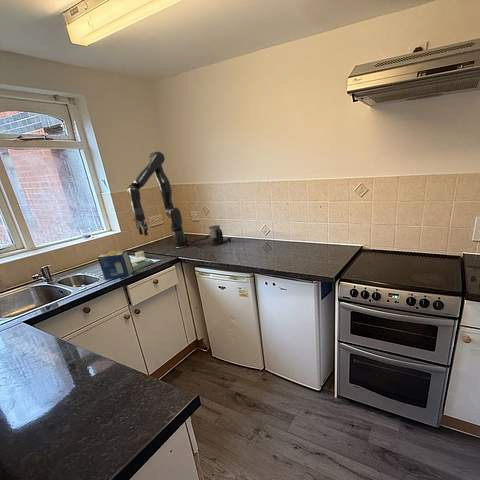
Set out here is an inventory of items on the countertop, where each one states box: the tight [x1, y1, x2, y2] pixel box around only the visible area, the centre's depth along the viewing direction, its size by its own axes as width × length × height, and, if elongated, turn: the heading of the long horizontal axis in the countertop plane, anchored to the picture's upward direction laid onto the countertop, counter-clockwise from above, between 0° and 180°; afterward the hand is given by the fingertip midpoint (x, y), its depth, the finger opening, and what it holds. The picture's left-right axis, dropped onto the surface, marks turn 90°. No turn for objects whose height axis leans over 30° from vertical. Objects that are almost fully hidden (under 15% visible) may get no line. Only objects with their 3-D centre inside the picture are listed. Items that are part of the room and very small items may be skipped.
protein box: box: [96, 249, 135, 280], centre depth 196 cm, size 10×15×16 cm
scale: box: [130, 257, 153, 270], centre depth 218 cm, size 14×17×3 cm
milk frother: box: [208, 224, 233, 246], centre depth 248 cm, size 14×16×15 cm
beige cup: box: [134, 250, 146, 258], centre depth 232 cm, size 6×6×5 cm
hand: (143, 234), depth 230 cm, fingers open, 8 cm apart
